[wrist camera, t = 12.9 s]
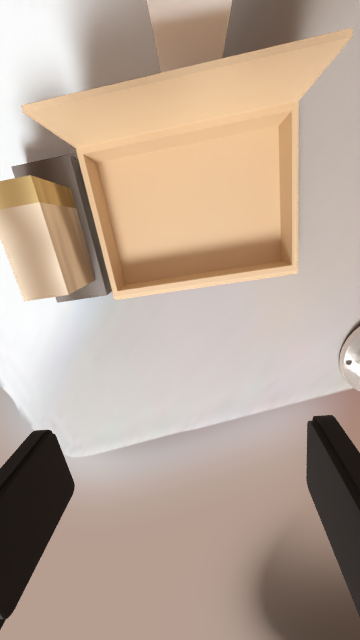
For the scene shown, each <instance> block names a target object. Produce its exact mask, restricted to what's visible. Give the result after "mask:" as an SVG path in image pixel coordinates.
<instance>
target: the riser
mask: <svg viewBox="0 0 360 640" xmlns="http://www.w3.org/2000/svg"><path fill="white" fill-rule="evenodd" d="M12 170H13V173H14V176H15V178H19V177H24V176H29V175H32V176H35V177H38V178H41V179H44V180H47V181H50V182H53V183H56V184H59V185H62V186H65V187H68V188H71V191H72V195H73V198H74V202H75V206H76V209H77V213H78V217H79V220H80V224H81V228H82V231H83V235H84V239H85V242H86V246H87V250H88V253H89V257H90V261H91V264H92V268H93V272H94V275H95V279H96V280H95V281H93V282H91V283H90V284H88V285H86V286H84V287H82V288H80V289H78V290H76V291H75V292H73V293H71V294H69V295H64V296H57V297H56V300H57V302H64V301H71V300H78V299H84V298H91V297H98V296H105V295H108V294H109V293H110V292H112V288H111V284H110V280H109V276H108V273H107V269H106V265H105V261H104V257H103V253H102V249H101V245H100V241H99V238H98V234H97V230H96V226H95V222H94V218H93V214H92V210H91V207H90V203H89V199H88V195H87V191H86V187H85V183H84V179H83V175H82V172H81V168H80V164H79V160H78V159H76V158H74V157H73V156H71V155H65V156H60V157H55V158H51V159H46V160H41V161H36V162H31V163H27V164H22V165H17V166H12Z"/></svg>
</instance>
